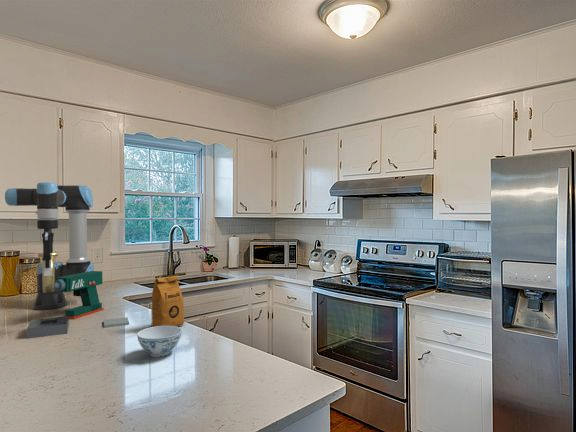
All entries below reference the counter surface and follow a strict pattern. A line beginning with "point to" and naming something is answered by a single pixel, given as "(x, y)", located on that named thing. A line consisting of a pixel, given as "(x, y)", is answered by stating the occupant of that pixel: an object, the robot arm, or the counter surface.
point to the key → (48, 280)
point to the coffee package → (167, 303)
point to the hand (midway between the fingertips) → (48, 274)
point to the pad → (116, 322)
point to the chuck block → (48, 327)
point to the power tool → (81, 292)
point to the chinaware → (159, 339)
